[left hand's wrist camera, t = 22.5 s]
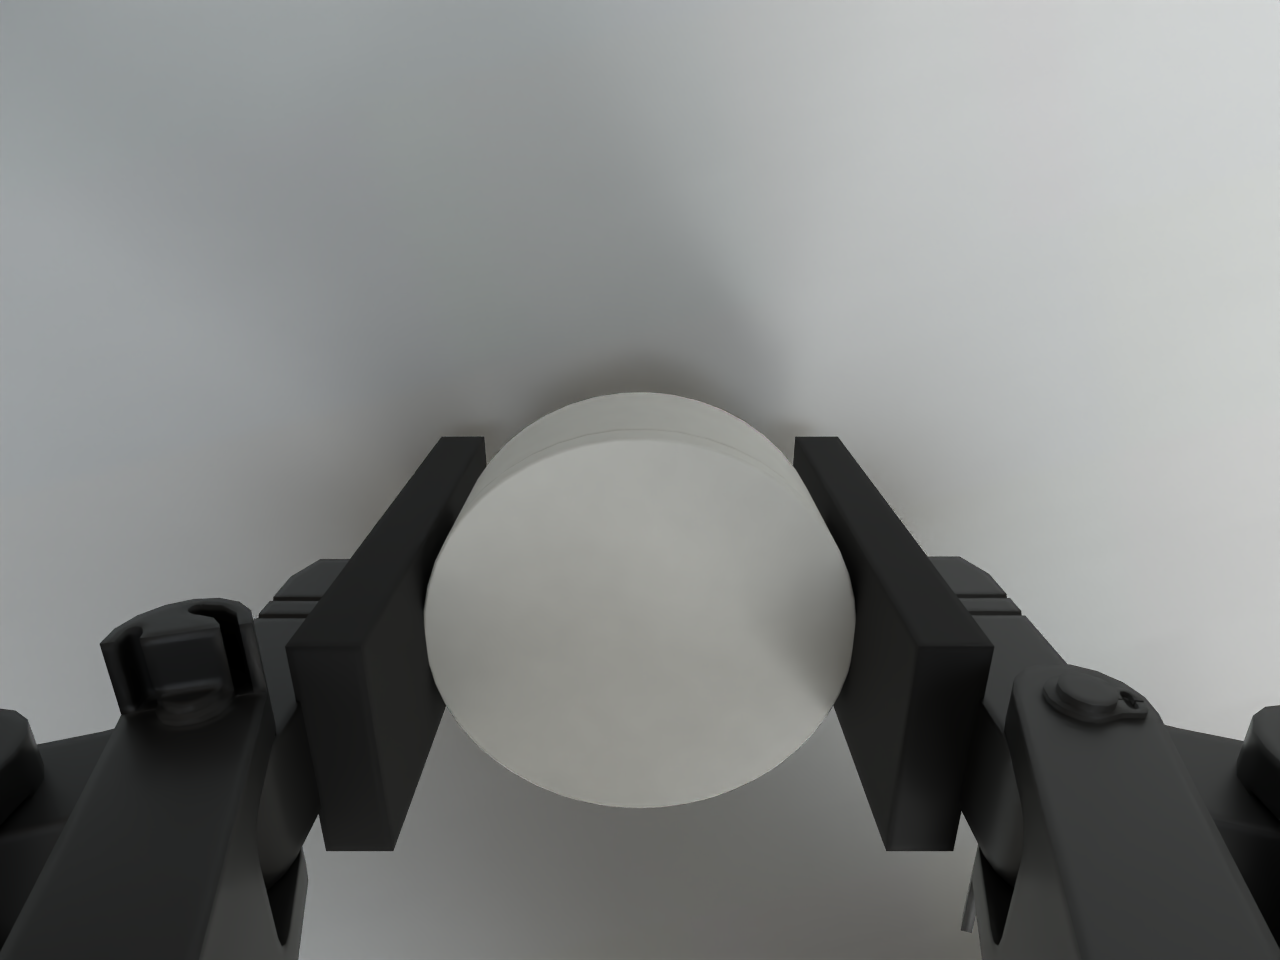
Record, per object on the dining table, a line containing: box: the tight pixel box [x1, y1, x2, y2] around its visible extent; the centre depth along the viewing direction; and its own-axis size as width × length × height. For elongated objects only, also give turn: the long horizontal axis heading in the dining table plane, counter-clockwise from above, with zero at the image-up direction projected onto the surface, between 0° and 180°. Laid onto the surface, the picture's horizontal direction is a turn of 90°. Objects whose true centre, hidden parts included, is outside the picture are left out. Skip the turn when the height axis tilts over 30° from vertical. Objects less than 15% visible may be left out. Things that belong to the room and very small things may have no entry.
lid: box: [424, 392, 856, 808], centre depth 11 cm, size 6×6×2 cm
